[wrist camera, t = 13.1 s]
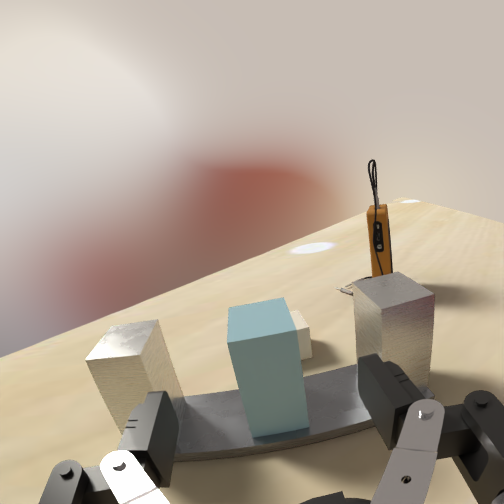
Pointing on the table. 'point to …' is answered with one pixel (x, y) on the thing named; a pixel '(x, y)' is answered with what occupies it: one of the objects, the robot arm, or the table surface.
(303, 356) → the block
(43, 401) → the table surface
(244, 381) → the block
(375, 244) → the multimeter
